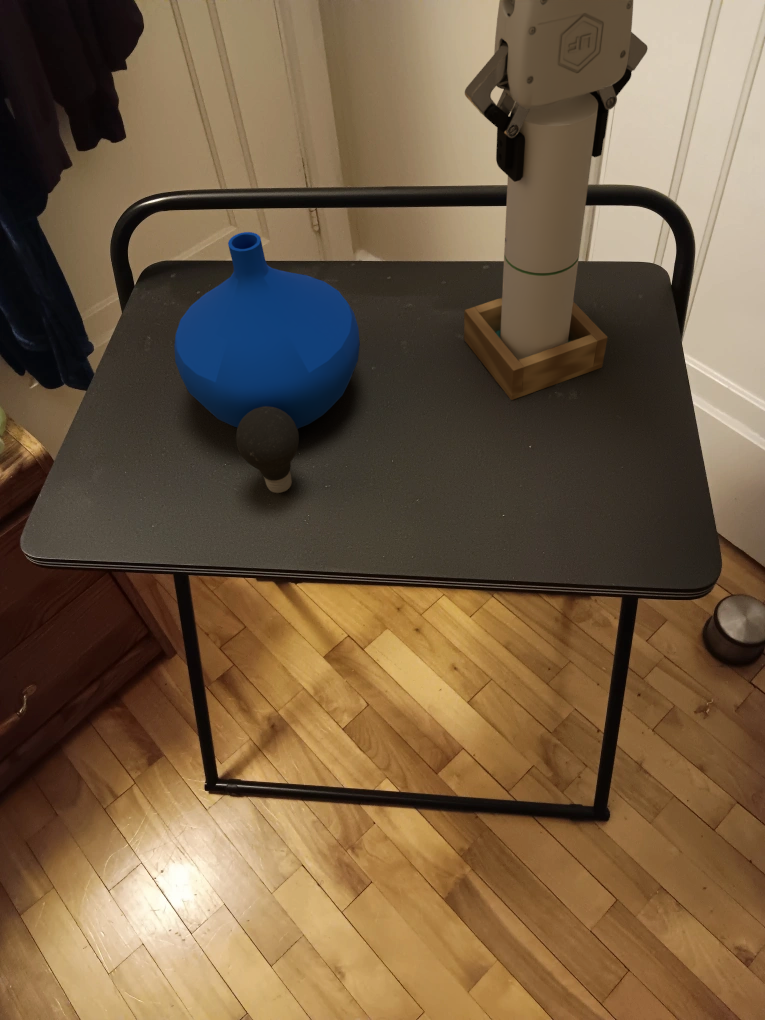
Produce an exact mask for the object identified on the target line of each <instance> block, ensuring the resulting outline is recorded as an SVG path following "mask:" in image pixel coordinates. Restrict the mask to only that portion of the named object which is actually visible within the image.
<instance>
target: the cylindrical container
mask: <svg viewBox="0 0 765 1020" xmlns="http://www.w3.org/2000/svg"><path fill="white" fill-rule="evenodd" d="M515 103H516V101H515ZM515 103H514V105H515ZM514 105H513V107H512V109H511V112H512V110H513V108H514ZM597 111H598V102H597V100H596V98H595V97H594V96H593V95H591V94H590V93H587V94H584V95H580V96H577V97H573V98H570V99H566V100H563V101H559V102H556V103H552V104H549V105H545V106H541V107H536V108H530V110H529V112H528V114H527V116H526V119H525V121H524V123H523V125H522V127H521V129H520V131H519V132H521V133H522V134H523V135H524V137H525V150H524V166H523V177H522V178H521V180H519V181H516V182H514V181H513V180H512V179H511V178H510V177H509V176H508V175H507V182H506V183H507V185H506V205H505V206H506V207H505V228H504V249H503V250H504V251H503V270H502V272H503V273H502V290H501V292H502V293H501V298H502V312H501V333H500V339H501V340H502V342H503V343H504V344H505V345H506V346H507V348H508V349H509V350H510V351H511V352H512V354H513V355H514V356H515V357H516V358H517V360H520V359H523V358H525V357H528V356H531V355H534V354H537V353H540V352H542V351H545V350H548V349H551V348H554V347H557V346H560V345H562V344H565V343H568V338H569V330H570V322H571V314H572V307H573V302H574V299H575V298H574V297H575V292H576V291H575V290H576V282H577V275H578V267H579V259H580V250H581V243H582V235H583V228H584V220H585V212H586V204H587V197H588V189H589V181H590V173H591V165H592V158H593V156H592V150H593V142H594V134H595V126H596V118H597ZM511 112H510V113H511Z"/></svg>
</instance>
